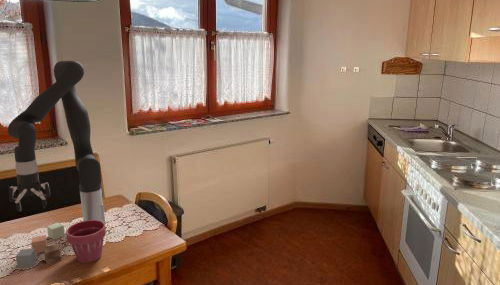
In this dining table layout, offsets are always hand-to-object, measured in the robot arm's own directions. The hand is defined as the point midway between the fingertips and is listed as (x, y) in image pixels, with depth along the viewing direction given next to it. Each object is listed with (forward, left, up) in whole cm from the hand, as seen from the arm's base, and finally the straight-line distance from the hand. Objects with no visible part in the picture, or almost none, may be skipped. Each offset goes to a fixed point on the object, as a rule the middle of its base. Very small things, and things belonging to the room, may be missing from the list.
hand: (32, 209), depth 159 cm
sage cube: (-7, -9, -18) cm, 21 cm away
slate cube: (+3, +11, -18) cm, 21 cm away
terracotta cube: (-1, +1, -18) cm, 18 cm away
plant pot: (-19, +16, -18) cm, 31 cm away
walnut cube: (-6, +12, -18) cm, 22 cm away
